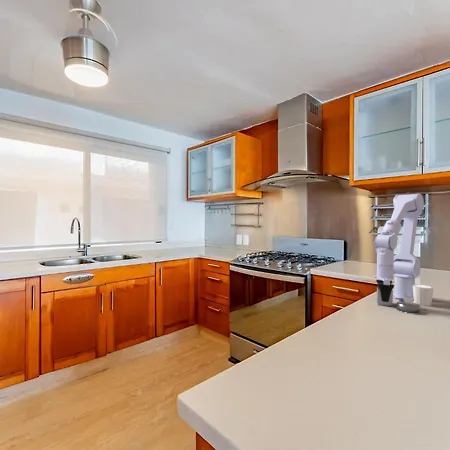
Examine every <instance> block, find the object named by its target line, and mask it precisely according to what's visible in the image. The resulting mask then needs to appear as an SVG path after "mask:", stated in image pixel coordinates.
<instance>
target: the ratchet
mask: <svg viewBox="0 0 450 450" xmlns="http://www.w3.org/2000/svg"><path fill="white" fill-rule="evenodd" d="M420 306H421V305H419V304H416V303H414V300H413V298H412V297H410V296H404V299H403V298H399V299H398V301H397V302H396V310H397V311H398V310H399V311H398V312H400V311H402V312H401V313H404V312H407V313H406V314H410V313H418V314H420V313H419V312H420V308H421V307H420Z"/></svg>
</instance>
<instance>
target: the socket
mask: <svg viewBox="0 0 450 450" xmlns="http://www.w3.org/2000/svg"><path fill="white" fill-rule="evenodd" d="M393 293H394V290H393V289H392V291H391V294H390V298H389V302H382V299H381V292H380V288H379V287H378V286H376V304H377V306H383V305H385V306H384V307H392V306H393V305H394V304H393V301H394V300H393V299H394V296H393Z"/></svg>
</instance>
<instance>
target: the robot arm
mask: <svg viewBox="0 0 450 450" xmlns="http://www.w3.org/2000/svg"><path fill="white" fill-rule="evenodd" d="M423 197H424V196H423V195H422V194H421V193H418V192H417V193H415V194H414V193H412V194H411V193H410V194H395V196H394V197H393V199H392V201H393V204H392V205H393V212H392V213H391V214H392V215H391V217H390V219H389V220H386V221H385V223H384V225H383V228H382V230H381V232H380V234H378V235H376V236H375V237H374V241H373V243H374V248H375V253H376V275H373V278H375V281H376V284H377V287H379V288H380V292H381V299H382V302H389V298H390V294H391V291H392V290H393V289H394V292H393V298H395V299H398V300H399V298H403V299H404V296H410V297H412V298H413V301H414V295H413V285H416V278H418V277H419V276H420V275H421V260H420V259H419V258H418V257H417V256H416V255H414V250H415V243H416V234H417V226H418V220H419V219H418V218H419V216H421V215H422V214H423V211H424V210H423V209H424V205H425V204H424V203H425V202H424V201H425V200H424V198H423ZM402 221H403V225H402V224H401V223H402ZM401 229H402V233H401V241H400V248H399V253H397V254H396V255H395V250H396V248H397V246H398V239H399V233H400V231H401ZM393 281H394V284H393Z"/></svg>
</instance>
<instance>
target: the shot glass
mask: <svg viewBox="0 0 450 450" xmlns="http://www.w3.org/2000/svg"><path fill="white" fill-rule="evenodd" d="M433 294H434V287H433V286H432V285H431V286H430V285H427V284H415V285H413V295H414V300H413V303H416V304H419V305H420V306H422V305H423V306H424V307H430V306H432V302H433V297H434V295H433Z"/></svg>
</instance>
